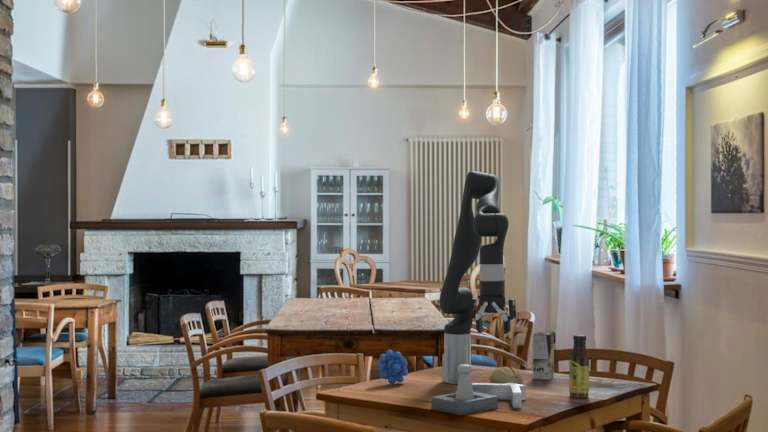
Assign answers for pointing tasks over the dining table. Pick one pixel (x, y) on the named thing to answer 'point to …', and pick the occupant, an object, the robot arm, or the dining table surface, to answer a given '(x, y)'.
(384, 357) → the grapes
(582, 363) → the sauce bottle
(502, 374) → the bread roll
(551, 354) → the coffee box
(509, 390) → the v block
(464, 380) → the salt shaker
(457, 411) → the grey rectangular frame
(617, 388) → the dining table surface
